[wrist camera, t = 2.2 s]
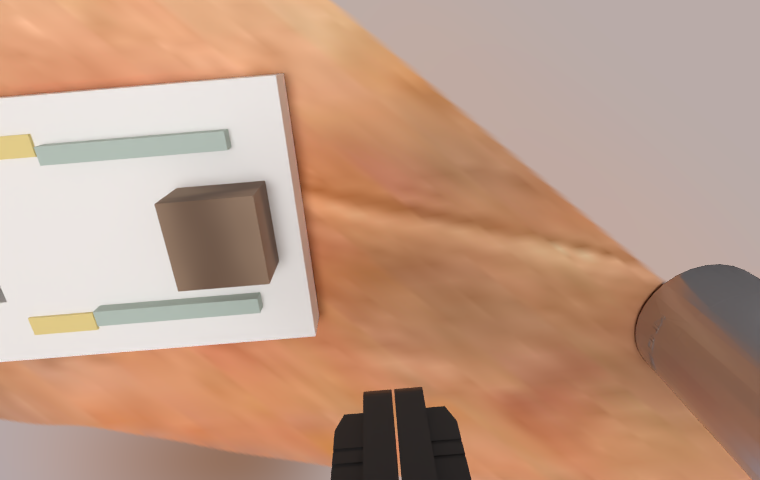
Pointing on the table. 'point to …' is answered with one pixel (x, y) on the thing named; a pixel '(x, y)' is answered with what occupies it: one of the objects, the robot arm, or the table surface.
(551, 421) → the table surface
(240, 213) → the walnut block
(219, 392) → the table surface
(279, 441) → the table surface
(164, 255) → the board
